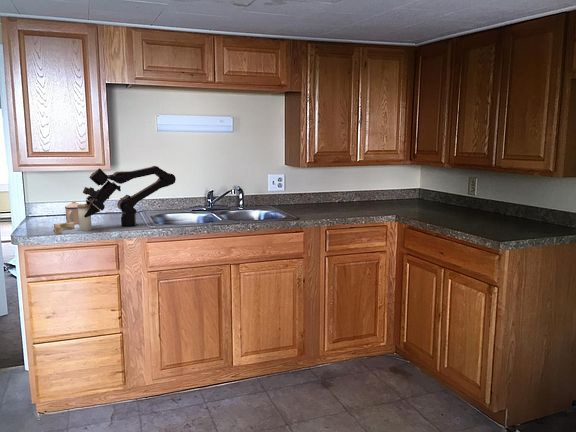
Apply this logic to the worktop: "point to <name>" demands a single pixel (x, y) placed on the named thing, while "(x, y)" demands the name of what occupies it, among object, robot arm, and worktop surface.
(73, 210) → the beige lidded jar
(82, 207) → the tea canister
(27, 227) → the worktop surface
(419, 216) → the worktop surface
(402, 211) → the worktop surface
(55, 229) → the stand
